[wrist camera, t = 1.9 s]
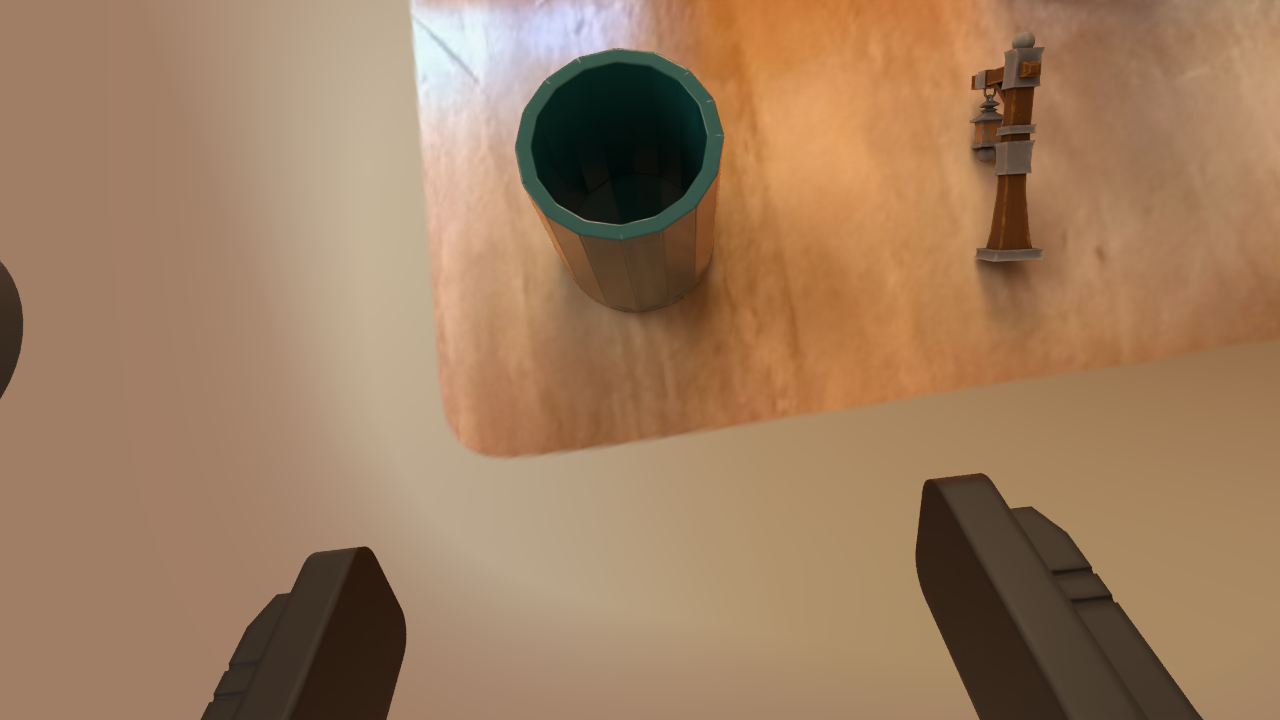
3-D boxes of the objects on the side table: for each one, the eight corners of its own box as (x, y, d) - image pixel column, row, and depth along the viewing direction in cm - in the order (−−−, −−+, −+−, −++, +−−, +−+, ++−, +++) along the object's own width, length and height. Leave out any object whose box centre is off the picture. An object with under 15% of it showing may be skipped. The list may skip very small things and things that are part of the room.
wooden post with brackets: (1002, 51, 28) (1063, 23, 24) (992, 251, 30) (1047, 259, 26) (957, 54, 29) (1009, 27, 24) (949, 253, 30) (996, 262, 26)
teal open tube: (579, 328, 28) (537, 260, 20) (549, 189, 30) (499, 76, 22) (729, 292, 28) (745, 210, 20) (693, 154, 30) (694, 27, 22)
